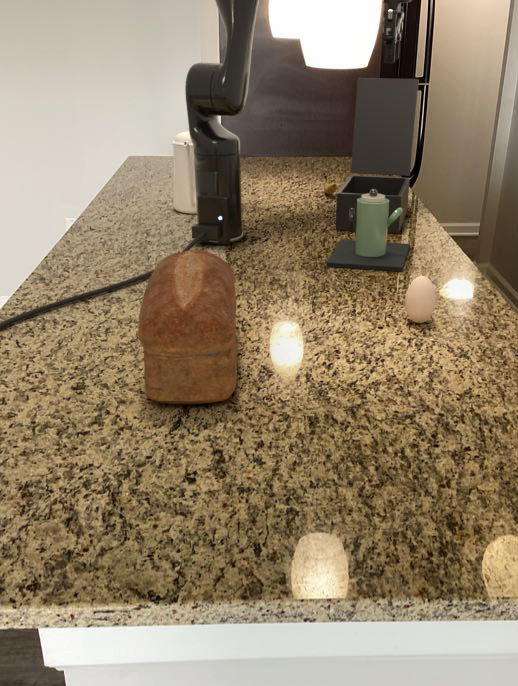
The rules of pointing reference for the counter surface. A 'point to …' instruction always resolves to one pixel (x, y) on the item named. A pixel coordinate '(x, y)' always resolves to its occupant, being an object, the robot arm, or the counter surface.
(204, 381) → the bread
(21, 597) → the counter surface
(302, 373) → the counter surface
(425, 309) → the egg
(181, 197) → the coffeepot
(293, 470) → the counter surface
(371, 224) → the kettle
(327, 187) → the banana
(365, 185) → the dark gray storage bin
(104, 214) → the counter surface
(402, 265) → the mat
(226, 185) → the robot arm
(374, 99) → the storage bin lid
